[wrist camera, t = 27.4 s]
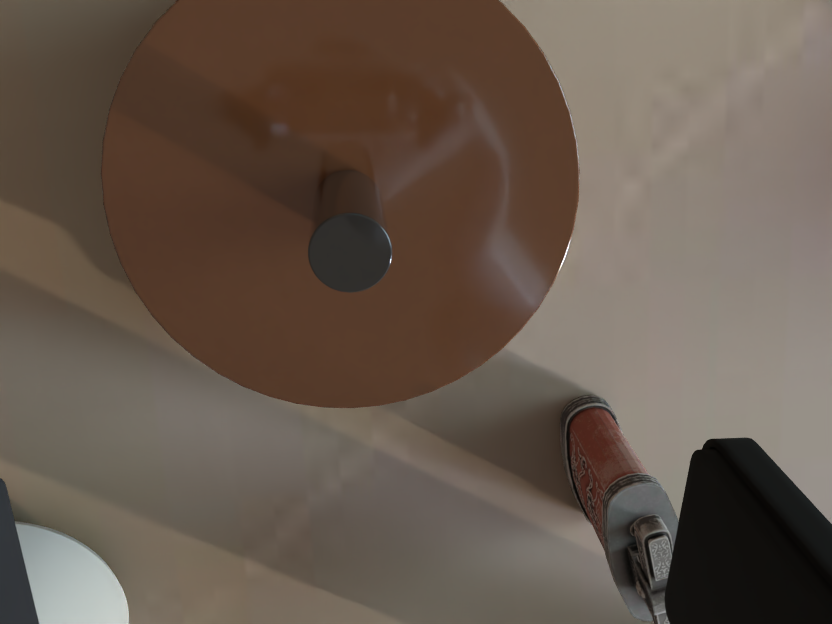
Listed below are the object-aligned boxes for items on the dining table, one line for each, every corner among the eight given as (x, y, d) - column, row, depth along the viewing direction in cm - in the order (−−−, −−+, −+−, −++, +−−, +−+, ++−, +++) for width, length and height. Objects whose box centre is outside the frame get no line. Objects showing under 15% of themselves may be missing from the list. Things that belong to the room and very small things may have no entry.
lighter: (636, 507, 42) (720, 653, 32) (578, 524, 42) (645, 675, 33) (613, 387, 38) (699, 511, 29) (549, 406, 38) (615, 536, 29)
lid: (594, -53, 25) (678, -66, 19) (549, 387, 31) (601, 484, 25) (74, -66, 23) (-21, -86, 17) (142, 400, 30) (91, 506, 24)
